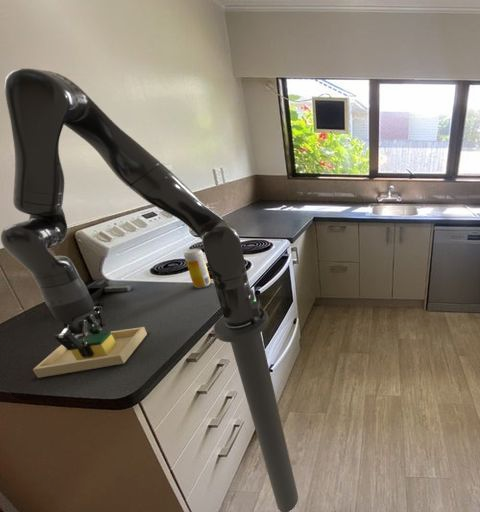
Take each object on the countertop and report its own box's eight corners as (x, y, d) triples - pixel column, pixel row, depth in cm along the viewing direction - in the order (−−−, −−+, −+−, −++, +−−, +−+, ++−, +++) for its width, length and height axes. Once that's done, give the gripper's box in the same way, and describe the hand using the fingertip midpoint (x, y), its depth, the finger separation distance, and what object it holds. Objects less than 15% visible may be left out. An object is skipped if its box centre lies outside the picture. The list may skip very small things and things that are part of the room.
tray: (147, 334, 88) (144, 326, 86) (124, 363, 76) (120, 355, 75) (73, 345, 83) (69, 337, 82) (37, 378, 72) (32, 369, 71)
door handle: (138, 277, 118) (93, 278, 115) (102, 303, 100) (48, 305, 97) (140, 284, 119) (96, 285, 117) (105, 311, 101) (52, 313, 99)
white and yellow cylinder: (201, 281, 119) (191, 247, 113) (214, 281, 118) (205, 248, 112) (190, 288, 114) (179, 253, 108) (204, 289, 113) (193, 254, 107)
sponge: (116, 343, 82) (110, 331, 80) (106, 354, 78) (99, 341, 76) (87, 348, 81) (80, 335, 79) (76, 360, 77) (68, 346, 75)
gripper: (64, 310, 67) (94, 366, 74) (103, 282, 80) (125, 332, 86) (24, 315, 65) (59, 371, 72) (70, 285, 78) (96, 336, 85)
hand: (95, 349), depth 79 cm, fingers closed on sponge, 4 cm apart
